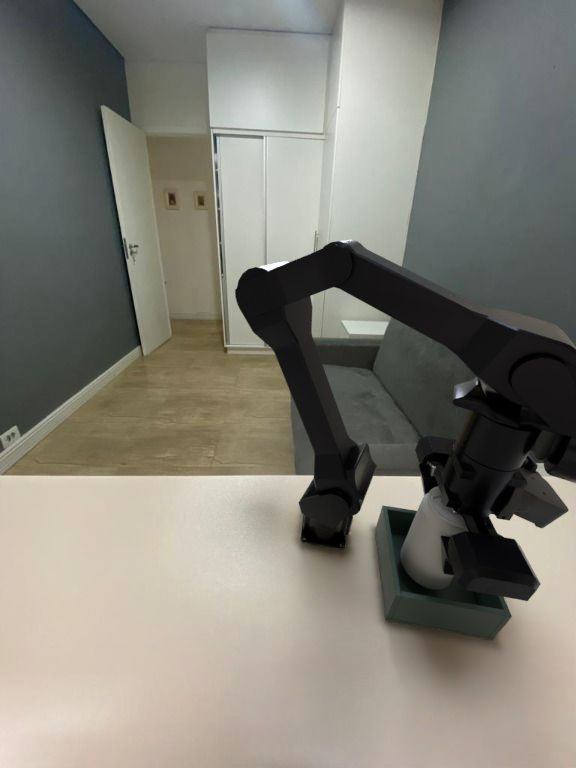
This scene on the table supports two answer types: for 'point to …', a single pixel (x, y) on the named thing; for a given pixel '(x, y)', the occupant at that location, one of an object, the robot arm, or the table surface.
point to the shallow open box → (425, 605)
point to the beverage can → (430, 541)
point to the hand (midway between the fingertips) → (439, 545)
